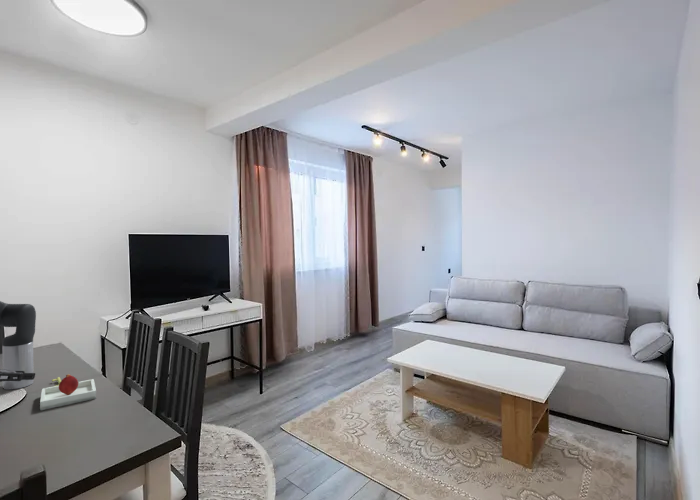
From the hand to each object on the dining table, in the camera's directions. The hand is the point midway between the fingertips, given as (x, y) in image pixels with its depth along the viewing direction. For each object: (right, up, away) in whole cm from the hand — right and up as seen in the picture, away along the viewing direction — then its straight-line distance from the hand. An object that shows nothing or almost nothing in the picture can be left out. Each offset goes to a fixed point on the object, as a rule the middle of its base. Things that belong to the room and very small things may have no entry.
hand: (28, 375), depth 131 cm
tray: (+11, -10, +5) cm, 16 cm away
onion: (+11, -9, +5) cm, 15 cm away
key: (-1, -10, +15) cm, 18 cm away
